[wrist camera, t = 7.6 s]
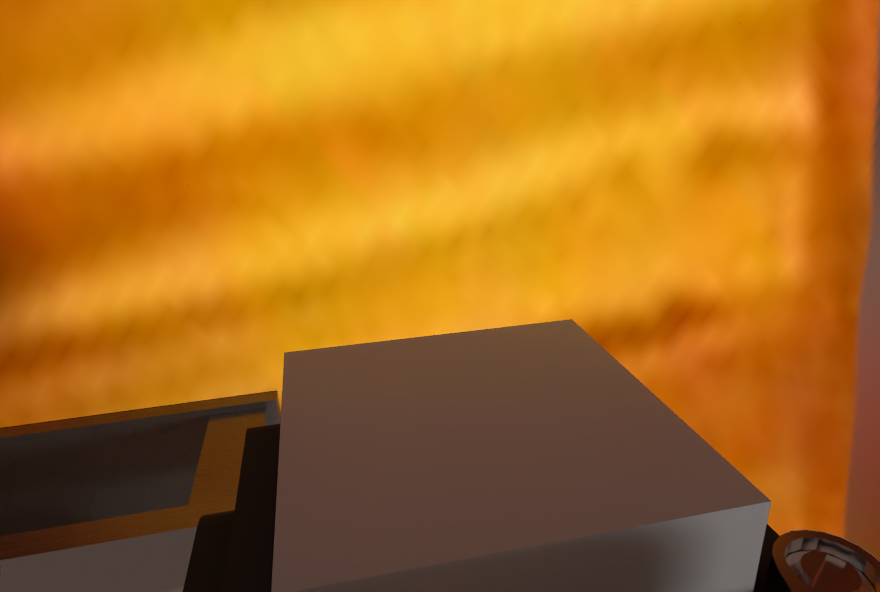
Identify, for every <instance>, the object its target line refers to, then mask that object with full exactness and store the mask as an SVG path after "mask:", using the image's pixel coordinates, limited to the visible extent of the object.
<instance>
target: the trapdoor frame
mask: <svg viewBox="0 0 880 592" xmlns="http://www.w3.org/2000/svg"><path fill="white" fill-rule="evenodd" d="M274 424H281V414H280V407H279V400H278V394H277V391H273V392H265V393H258V394H251V395H243V396H236V397H229V398H221V399H214V400H206V401H199V402H192V403H184V404H177V405H170V406H162V407H155V408H147V409H140V410H133V411H125V412H118V413H111V414H103V415H96V416H88V417H81V418H74V419H66V420H59V421H52V422H44V423H37V424H29V425H22V426H15V427H7V428H0V592H154V591H159V590H164V589H170V588H175V587H180V586H184V583H185V579H186V574H187V570H188V565H189V561H190V556H191V552H192V547H193V543H194V539H195V534H196V530H197V525H198V522H199V519H200V517H201V516H202V515H207V514H213V513H220V512H226V511H232V510H235V504H236V497H237V490H238V484H239V477H240V470H241V463H242V457H243V450H244V443H245V436H246V431H247V428H252V427H259V426H266V425H274Z"/></svg>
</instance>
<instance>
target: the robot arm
mask: <svg viewBox="0 0 880 592" xmlns="http://www.w3.org/2000/svg"><path fill="white" fill-rule="evenodd" d="M280 425H281V424H274V425H266V426H259V427H252V428H247V431H246V436H245V443H244V450H243V457H242V463H241V470H240V477H239V484H238V490H237V497H236V504H235V510H232V511H226V512H220V513H213V514H207V515H202V516H201V517H200V519H199V522H198V525H197V530H196V534H195V539H194V543H193V547H192V552H191V556H190V561H189V565H188V570H187V574H186V579H185V583H184V588H183V592H271V588H272V570H273V551H274V533H275V515H276V497H277V479H278V461H279V443H280ZM753 592H880V562H879V561H878V560H877V559H876V558H875V557H874V556H873V555H871V554H870V553H868V552H867V551H865V550H864V549H862V548H861V547H860V546H858V545H856V544H853V543H851V542H849V541H847V540H845V539H843V538H841V537H838V536H835V535H831V534H828V533H825V532H819V531H811V530H797V531H790V532H788V533H785V534H783V535H780V536H779V535H778V534H777V533H776V532H775V531H774V530H773V529H772V528H771V527H770V526H769V525H768V524H767V525H766V530H765V535H764V540H763V545H762V550H761V555H760V560H759V565H758V570H757V575H756V580H755V585H754V590H753Z"/></svg>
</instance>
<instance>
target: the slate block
mask: <svg viewBox="0 0 880 592" xmlns="http://www.w3.org/2000/svg"><path fill="white" fill-rule="evenodd" d="M770 505H771V501H770V500H769V499H768V498H767V497H766V496H765V495H764V494H763V493H762V492H761V491H759V490H758V489H757V488H756V487H755V486H754V485H753V484H752V483H751V482H750V481H748V480H747V479H746V478H745V477H744V476H743V475H742V474H741V473H740V472H739V471H737V470H736V469H735V468H734V467H733V466H732V465H731V464H730V463H729V462H728V461H727V460H725V459H724V458H723V457H722V456H721V455H720V454H719V453H718V452H717V451H716V450H714V449H713V448H712V447H711V446H710V445H709V444H708V443H707V442H706V441H705V440H703V439H702V438H701V437H700V436H699V435H698V434H697V433H696V432H695V431H694V430H693V429H691V428H690V427H689V426H688V425H687V424H686V423H685V422H684V421H683V420H682V419H680V418H679V417H678V416H677V415H676V414H675V413H674V412H673V411H672V410H671V409H669V408H668V407H667V406H666V405H665V404H664V403H663V402H662V401H661V400H660V399H659V398H657V397H656V396H655V395H654V394H653V393H652V392H651V391H650V390H649V389H648V388H646V387H645V386H644V385H643V384H642V383H641V382H640V381H639V380H638V379H637V378H636V377H634V376H633V375H632V374H631V373H630V372H629V371H628V370H627V369H626V368H625V367H623V366H622V365H621V364H620V363H619V362H618V361H617V360H616V359H615V358H614V357H612V356H611V355H610V354H609V353H608V352H607V351H606V350H605V349H604V348H603V347H602V346H600V345H599V344H598V343H597V342H596V341H595V340H594V339H593V338H592V337H591V336H589V335H588V334H587V333H586V332H585V331H584V330H583V329H582V328H581V327H580V326H578V325H577V324H576V323H575V322H574V321H573V320H572V319H571V320H563V321H554V322H545V323H537V324H528V325H519V326H511V327H502V328H494V329H485V330H476V331H468V332H459V333H450V334H442V335H433V336H424V337H416V338H407V339H398V340H390V341H381V342H372V343H364V344H355V345H346V346H338V347H329V348H321V349H312V350H303V351H295V352H286V353H284V371H283V389H282V407H281V425H280V443H279V461H278V479H277V497H276V515H275V533H274V551H273V570H272V588H271V592H753V590H754V585H755V580H756V575H757V570H758V565H759V560H760V555H761V550H762V545H763V540H764V535H765V530H766V525H767V520H768V515H769V510H770Z"/></svg>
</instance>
